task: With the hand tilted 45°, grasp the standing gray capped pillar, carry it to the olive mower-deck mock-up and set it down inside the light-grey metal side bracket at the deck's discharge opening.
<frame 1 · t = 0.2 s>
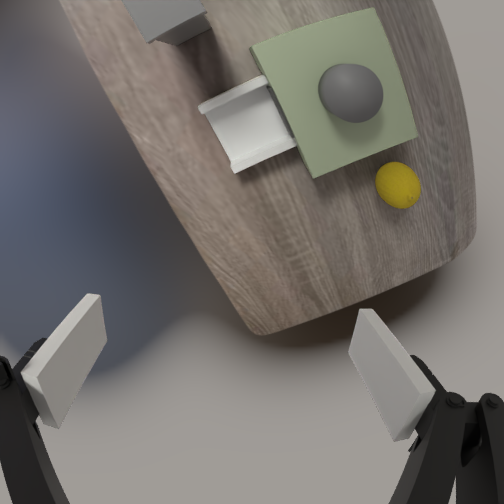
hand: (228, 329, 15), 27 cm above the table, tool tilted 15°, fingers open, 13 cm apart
gray capped pillar: (185, 21, 27), on the table
lemon: (384, 172, 39), on the table
mower deck: (240, 124, 35), on the table
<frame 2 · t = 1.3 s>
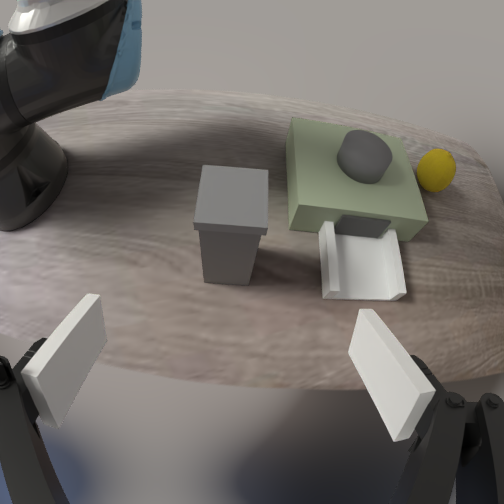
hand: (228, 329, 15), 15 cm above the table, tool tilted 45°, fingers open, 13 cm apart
gray capped pillar: (227, 263, 33), on the table
lemon: (422, 188, 42), on the table
mower deck: (358, 274, 34), on the table
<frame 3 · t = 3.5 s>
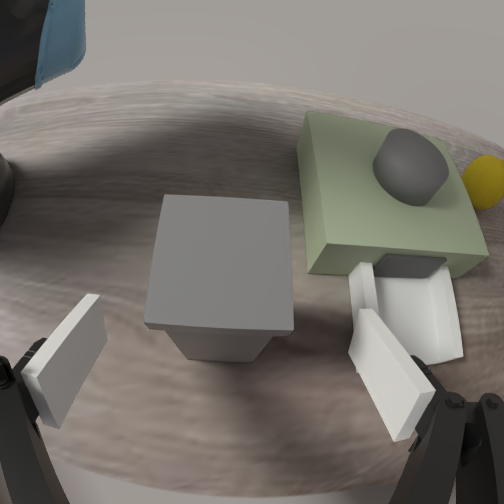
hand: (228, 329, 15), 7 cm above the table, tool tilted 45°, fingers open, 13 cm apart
gray capped pillar: (220, 330, 22), on the table
lemon: (465, 203, 31), on the table
mower deck: (402, 332, 23), on the table
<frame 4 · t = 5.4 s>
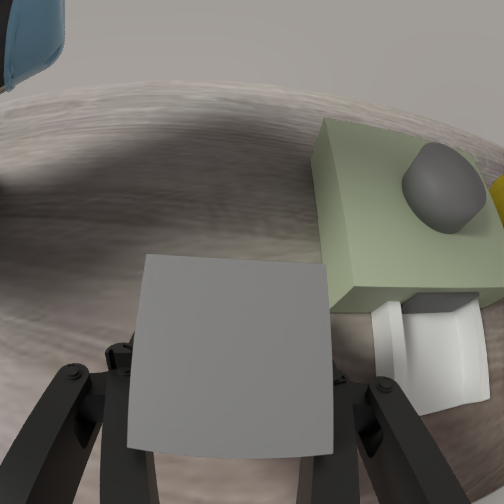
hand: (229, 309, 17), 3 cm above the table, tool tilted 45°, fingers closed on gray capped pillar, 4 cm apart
gray capped pillar: (225, 382, 18), on the table, touching gripper
lemon: (489, 221, 27), on the table
mower deck: (427, 374, 19), on the table
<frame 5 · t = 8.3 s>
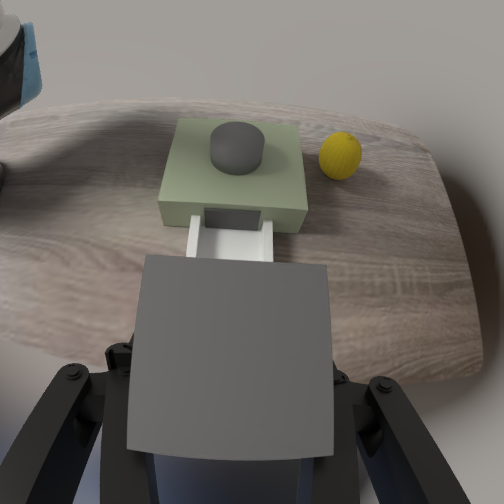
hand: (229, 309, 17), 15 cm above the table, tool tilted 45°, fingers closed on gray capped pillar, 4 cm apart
gray capped pillar: (225, 382, 18), point 12 cm above the table, touching gripper
lemon: (330, 176, 43), on the table
mower deck: (228, 268, 34), on the table
when the fingers open (5 cm above the table, at t = 11.6 s): gray capped pillar stays where it is, resting on mower deck.
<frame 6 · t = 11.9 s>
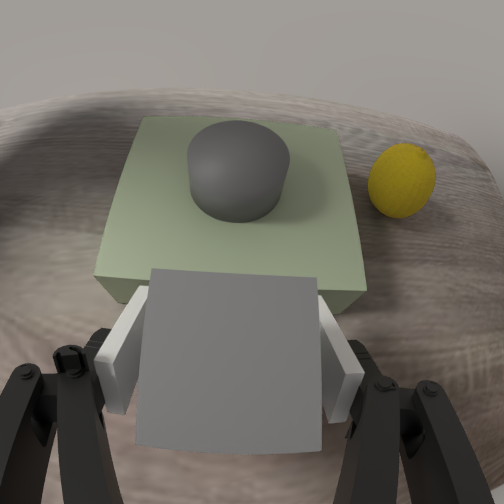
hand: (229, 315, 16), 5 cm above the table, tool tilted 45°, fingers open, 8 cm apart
gray capped pillar: (225, 383, 19), resting on mower deck
lemon: (381, 209, 27), on the table
mower deck: (225, 383, 19), on the table
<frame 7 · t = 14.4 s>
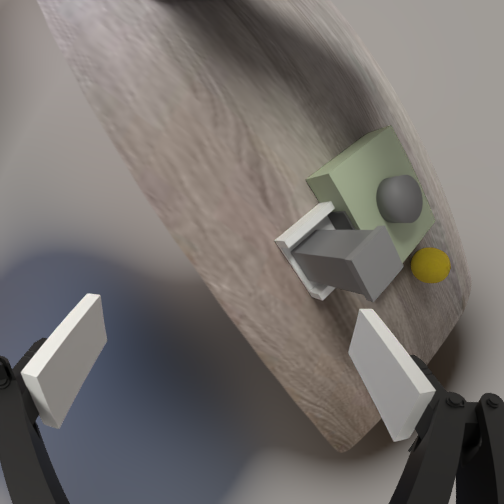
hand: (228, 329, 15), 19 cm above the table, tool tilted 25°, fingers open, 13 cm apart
gray capped pillar: (312, 255, 38), resting on mower deck
lemon: (410, 263, 47), on the table
mower deck: (310, 254, 39), on the table
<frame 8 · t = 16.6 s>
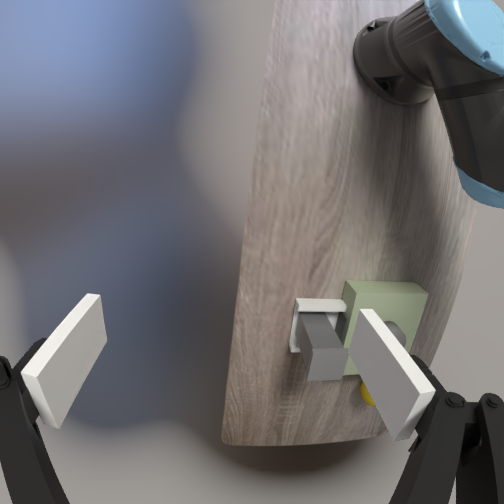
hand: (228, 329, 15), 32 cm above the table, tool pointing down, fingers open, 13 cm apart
gray capped pillar: (309, 323, 51), resting on mower deck
lemon: (367, 377, 57), on the table
mower deck: (309, 322, 51), on the table
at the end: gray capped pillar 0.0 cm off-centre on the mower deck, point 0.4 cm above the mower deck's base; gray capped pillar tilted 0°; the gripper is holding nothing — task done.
